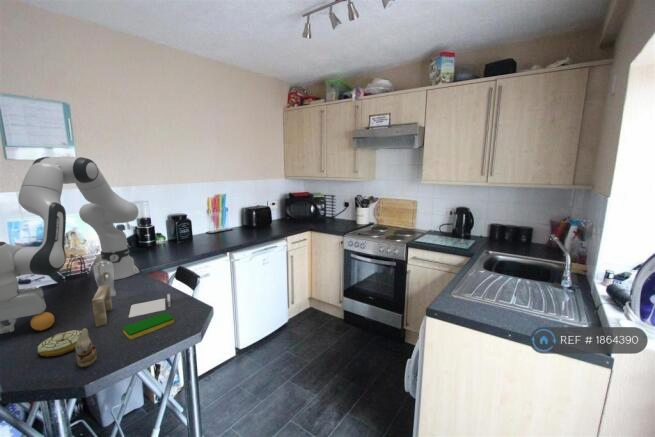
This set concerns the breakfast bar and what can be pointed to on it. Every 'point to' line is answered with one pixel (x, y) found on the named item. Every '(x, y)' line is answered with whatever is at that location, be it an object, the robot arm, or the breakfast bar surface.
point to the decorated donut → (59, 343)
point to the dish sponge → (148, 325)
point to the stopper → (169, 300)
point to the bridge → (101, 305)
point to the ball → (42, 321)
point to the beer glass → (105, 275)
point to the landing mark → (147, 307)
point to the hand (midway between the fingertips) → (7, 331)
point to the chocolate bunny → (85, 350)
